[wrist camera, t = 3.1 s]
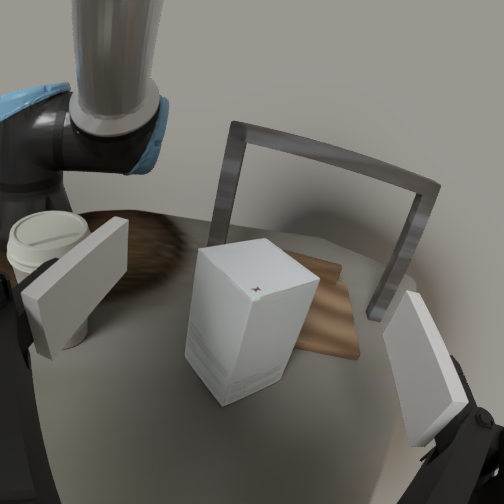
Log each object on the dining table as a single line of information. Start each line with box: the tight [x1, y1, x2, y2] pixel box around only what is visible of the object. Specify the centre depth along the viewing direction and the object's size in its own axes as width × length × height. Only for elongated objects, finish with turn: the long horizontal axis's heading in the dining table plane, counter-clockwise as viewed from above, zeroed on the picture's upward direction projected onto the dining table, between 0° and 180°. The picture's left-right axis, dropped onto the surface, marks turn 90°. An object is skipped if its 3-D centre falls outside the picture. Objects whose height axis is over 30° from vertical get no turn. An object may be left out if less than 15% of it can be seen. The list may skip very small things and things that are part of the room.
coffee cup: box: [7, 211, 91, 349], centre depth 26 cm, size 9×8×12 cm
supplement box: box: [185, 238, 320, 407], centre depth 28 cm, size 7×7×13 cm
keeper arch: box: [207, 121, 441, 360], centre depth 38 cm, size 16×26×21 cm, turn 82°
